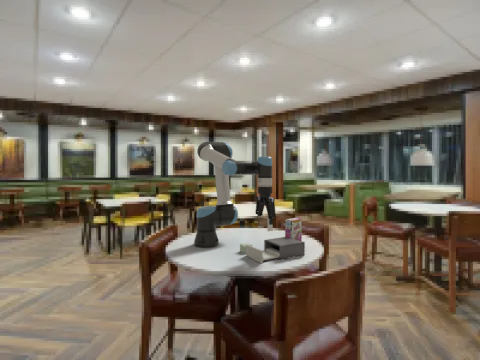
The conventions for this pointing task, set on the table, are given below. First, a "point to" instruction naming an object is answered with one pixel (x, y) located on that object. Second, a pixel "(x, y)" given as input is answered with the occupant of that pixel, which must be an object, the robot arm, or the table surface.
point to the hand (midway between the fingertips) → (265, 229)
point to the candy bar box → (293, 228)
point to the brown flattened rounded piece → (263, 221)
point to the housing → (286, 247)
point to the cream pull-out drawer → (261, 253)
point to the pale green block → (243, 247)
